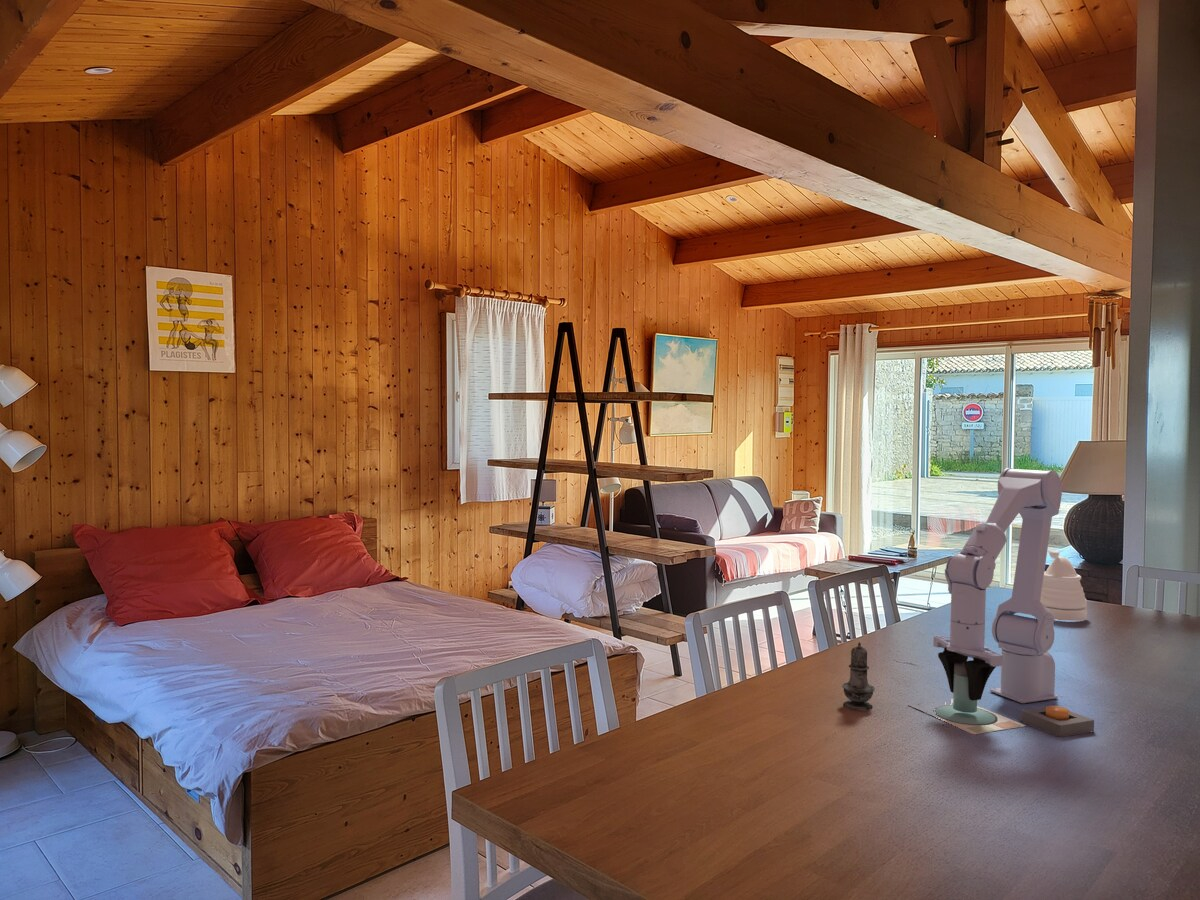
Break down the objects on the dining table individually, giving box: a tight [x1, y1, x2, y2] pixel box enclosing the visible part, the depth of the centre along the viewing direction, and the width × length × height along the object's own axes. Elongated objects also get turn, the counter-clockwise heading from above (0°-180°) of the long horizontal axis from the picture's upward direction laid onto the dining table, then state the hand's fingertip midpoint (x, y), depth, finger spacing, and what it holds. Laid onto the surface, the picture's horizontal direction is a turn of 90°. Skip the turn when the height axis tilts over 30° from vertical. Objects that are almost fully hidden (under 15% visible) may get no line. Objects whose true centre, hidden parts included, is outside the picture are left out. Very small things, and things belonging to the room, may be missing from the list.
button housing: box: [1020, 706, 1095, 738], centre depth 153 cm, size 8×8×2 cm
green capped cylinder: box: [952, 662, 978, 713], centre depth 158 cm, size 4×4×8 cm
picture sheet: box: [933, 698, 1027, 735], centre depth 158 cm, size 12×16×1 cm
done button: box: [1045, 705, 1070, 721], centre depth 153 cm, size 4×4×2 cm
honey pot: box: [1040, 550, 1088, 620], centre depth 239 cm, size 13×13×18 cm
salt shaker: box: [841, 641, 876, 712], centre depth 162 cm, size 6×6×12 cm
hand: (965, 695), depth 158 cm, fingers closed on green capped cylinder, 4 cm apart
